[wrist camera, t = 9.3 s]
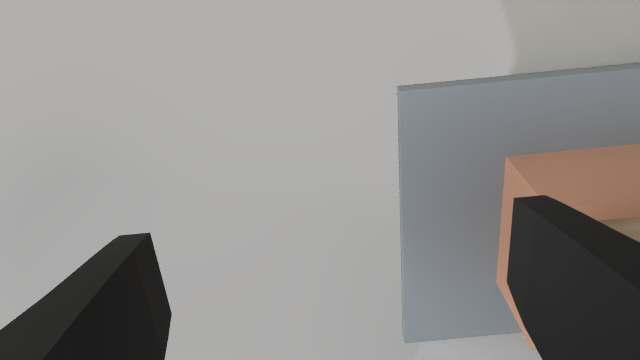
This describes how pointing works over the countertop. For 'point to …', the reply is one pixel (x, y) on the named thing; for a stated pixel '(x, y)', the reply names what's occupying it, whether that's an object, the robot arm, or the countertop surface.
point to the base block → (570, 191)
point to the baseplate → (486, 180)
